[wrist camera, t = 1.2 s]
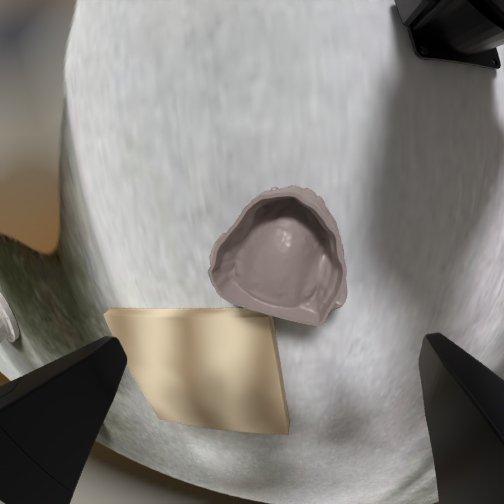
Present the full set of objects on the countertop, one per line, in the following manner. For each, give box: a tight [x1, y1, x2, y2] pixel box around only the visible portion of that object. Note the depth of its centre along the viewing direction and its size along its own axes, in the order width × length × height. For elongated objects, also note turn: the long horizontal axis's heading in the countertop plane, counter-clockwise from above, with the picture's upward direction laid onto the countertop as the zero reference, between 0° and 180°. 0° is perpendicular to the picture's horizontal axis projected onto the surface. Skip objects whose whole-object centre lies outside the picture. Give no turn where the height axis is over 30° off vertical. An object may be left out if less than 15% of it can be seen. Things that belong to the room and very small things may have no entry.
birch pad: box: [104, 308, 290, 434], centre depth 23 cm, size 14×14×1 cm
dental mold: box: [208, 186, 347, 326], centre depth 15 cm, size 8×7×5 cm
